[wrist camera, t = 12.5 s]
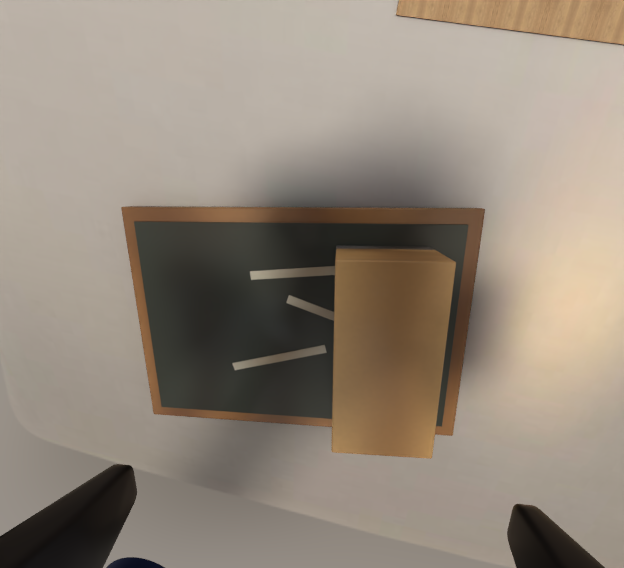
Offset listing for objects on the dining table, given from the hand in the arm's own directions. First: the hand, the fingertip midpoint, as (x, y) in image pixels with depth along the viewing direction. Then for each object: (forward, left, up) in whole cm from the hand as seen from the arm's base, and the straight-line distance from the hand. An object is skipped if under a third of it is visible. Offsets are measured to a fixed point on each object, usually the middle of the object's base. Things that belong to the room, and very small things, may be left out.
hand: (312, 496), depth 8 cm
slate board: (-2, -1, -13) cm, 13 cm away
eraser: (+3, -1, -12) cm, 12 cm away
